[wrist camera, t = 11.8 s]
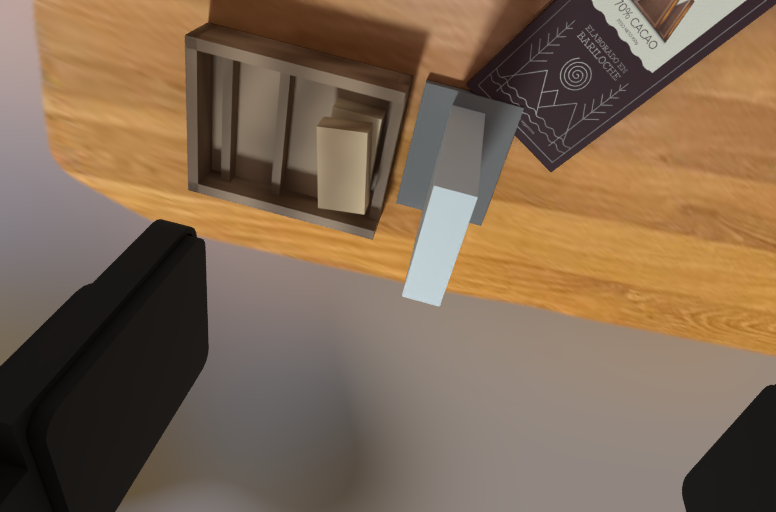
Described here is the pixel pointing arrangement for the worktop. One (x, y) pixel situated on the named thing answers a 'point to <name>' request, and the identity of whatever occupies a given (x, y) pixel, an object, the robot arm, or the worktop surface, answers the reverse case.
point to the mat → (430, 134)
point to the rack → (279, 122)
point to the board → (447, 207)
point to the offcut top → (344, 164)
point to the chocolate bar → (602, 64)
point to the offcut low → (365, 114)
